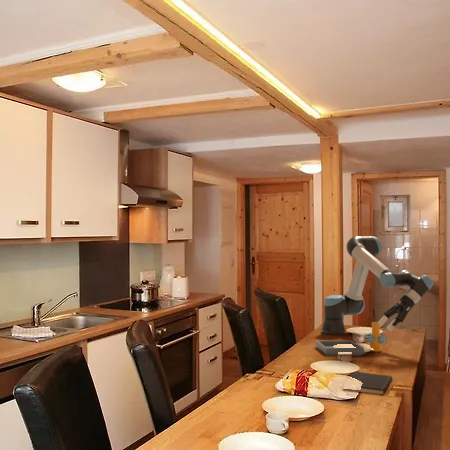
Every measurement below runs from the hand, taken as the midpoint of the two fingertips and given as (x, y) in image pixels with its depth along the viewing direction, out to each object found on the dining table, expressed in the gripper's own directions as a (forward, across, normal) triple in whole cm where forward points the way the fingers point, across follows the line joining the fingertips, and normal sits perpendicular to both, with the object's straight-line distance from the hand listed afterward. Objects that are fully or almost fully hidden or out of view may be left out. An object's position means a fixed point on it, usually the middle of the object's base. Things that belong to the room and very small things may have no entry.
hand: (383, 327), depth 280 cm
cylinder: (+12, +1, -6) cm, 13 cm away
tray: (+25, +1, +8) cm, 27 cm away
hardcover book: (+31, -62, +12) cm, 70 cm away
